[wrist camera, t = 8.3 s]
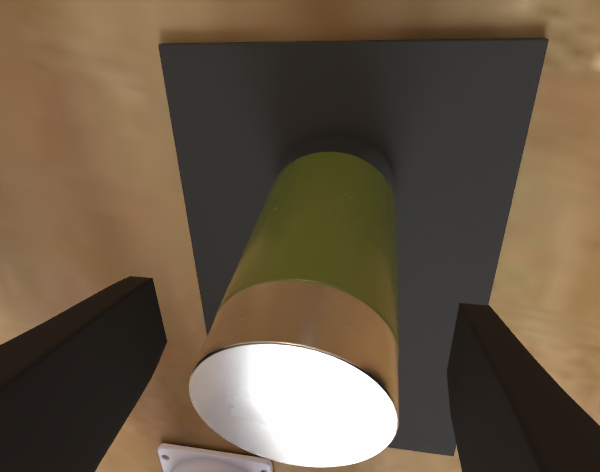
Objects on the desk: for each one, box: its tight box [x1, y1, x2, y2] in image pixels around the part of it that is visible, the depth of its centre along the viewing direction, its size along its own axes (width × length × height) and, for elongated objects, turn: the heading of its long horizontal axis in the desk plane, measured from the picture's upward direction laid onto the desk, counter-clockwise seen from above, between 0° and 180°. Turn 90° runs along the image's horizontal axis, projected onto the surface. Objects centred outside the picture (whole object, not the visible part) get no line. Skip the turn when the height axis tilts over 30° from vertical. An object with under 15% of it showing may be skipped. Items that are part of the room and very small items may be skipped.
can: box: [189, 134, 399, 467], centre depth 14 cm, size 5×5×10 cm
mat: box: [159, 38, 548, 456], centre depth 21 cm, size 22×14×1 cm, turn 2°
